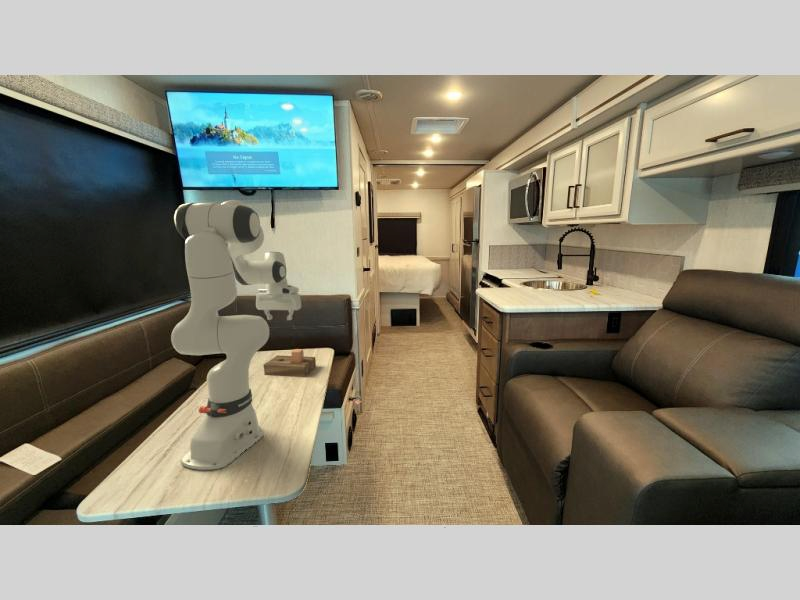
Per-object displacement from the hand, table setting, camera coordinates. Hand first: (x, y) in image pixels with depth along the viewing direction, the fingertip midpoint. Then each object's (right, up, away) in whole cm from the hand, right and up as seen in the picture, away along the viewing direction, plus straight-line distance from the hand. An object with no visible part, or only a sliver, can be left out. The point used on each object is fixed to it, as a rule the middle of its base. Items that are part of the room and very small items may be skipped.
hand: (279, 319), depth 139 cm
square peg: (+6, -25, +9) cm, 27 cm away
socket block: (+2, -25, +9) cm, 27 cm away
